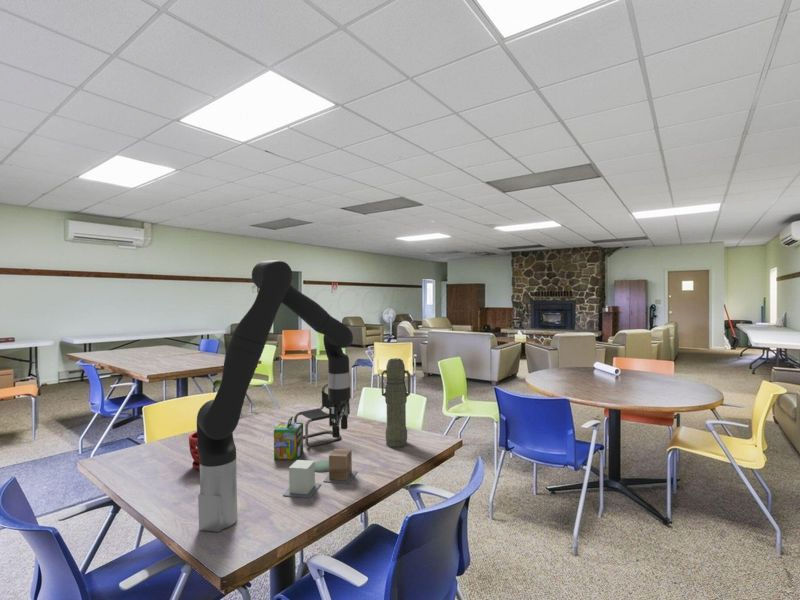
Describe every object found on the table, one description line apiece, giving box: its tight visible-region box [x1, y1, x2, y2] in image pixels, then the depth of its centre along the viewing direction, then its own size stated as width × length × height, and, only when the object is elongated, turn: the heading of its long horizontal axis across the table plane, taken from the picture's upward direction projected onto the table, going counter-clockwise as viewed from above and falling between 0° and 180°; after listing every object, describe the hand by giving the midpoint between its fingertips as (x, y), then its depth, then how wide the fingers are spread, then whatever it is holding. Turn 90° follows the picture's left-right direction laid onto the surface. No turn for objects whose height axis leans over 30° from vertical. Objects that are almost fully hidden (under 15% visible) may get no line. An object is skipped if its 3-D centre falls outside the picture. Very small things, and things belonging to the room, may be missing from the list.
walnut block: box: [328, 448, 353, 480], centre depth 141 cm, size 6×6×8 cm
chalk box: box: [273, 415, 304, 461], centre depth 160 cm, size 9×9×15 cm
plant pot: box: [188, 431, 200, 471], centre depth 152 cm, size 13×13×12 cm
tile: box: [322, 470, 358, 485], centre depth 141 cm, size 9×9×1 cm
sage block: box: [288, 459, 316, 494], centre depth 132 cm, size 6×6×8 cm
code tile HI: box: [282, 482, 322, 499], centre depth 132 cm, size 9×9×1 cm
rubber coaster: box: [315, 460, 329, 473], centre depth 150 cm, size 9×9×1 cm
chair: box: [293, 383, 342, 448], centre depth 177 cm, size 13×17×22 cm
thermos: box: [380, 357, 411, 449], centre depth 171 cm, size 9×12×35 cm
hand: (340, 432), depth 141 cm, fingers open, 8 cm apart
